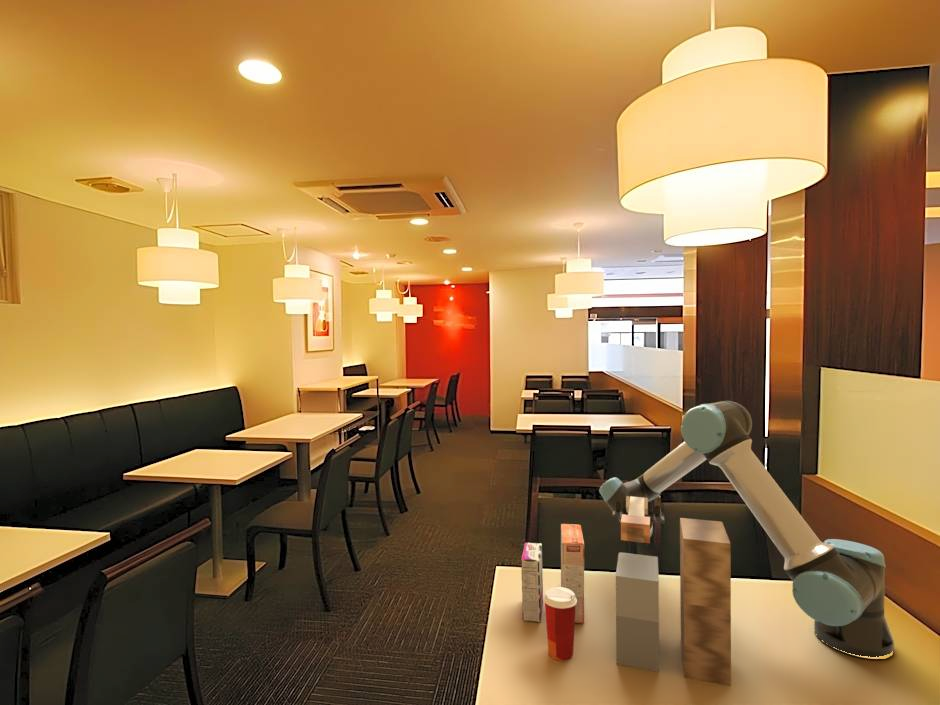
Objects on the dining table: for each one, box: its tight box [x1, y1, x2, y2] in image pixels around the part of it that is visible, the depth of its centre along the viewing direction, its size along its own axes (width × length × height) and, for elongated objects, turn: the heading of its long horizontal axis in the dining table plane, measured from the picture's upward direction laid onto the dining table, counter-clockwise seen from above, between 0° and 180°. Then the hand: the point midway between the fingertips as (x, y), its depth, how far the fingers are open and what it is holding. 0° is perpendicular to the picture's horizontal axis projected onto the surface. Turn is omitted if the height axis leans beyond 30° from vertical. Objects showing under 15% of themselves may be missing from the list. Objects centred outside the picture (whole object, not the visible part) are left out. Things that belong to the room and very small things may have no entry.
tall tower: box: [679, 517, 732, 686], centre depth 113 cm, size 9×13×30 cm
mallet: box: [620, 496, 651, 544], centre depth 120 cm, size 6×22×4 cm, turn 161°
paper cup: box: [543, 586, 577, 662], centre depth 117 cm, size 8×8×14 cm
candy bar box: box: [520, 542, 544, 623], centre depth 136 cm, size 11×5×16 cm, turn 168°
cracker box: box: [560, 523, 585, 624], centre depth 136 cm, size 14×6×21 cm, turn 171°
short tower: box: [615, 551, 660, 673], centre depth 118 cm, size 9×13×20 cm
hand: (636, 502), depth 123 cm, fingers closed on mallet, 3 cm apart
